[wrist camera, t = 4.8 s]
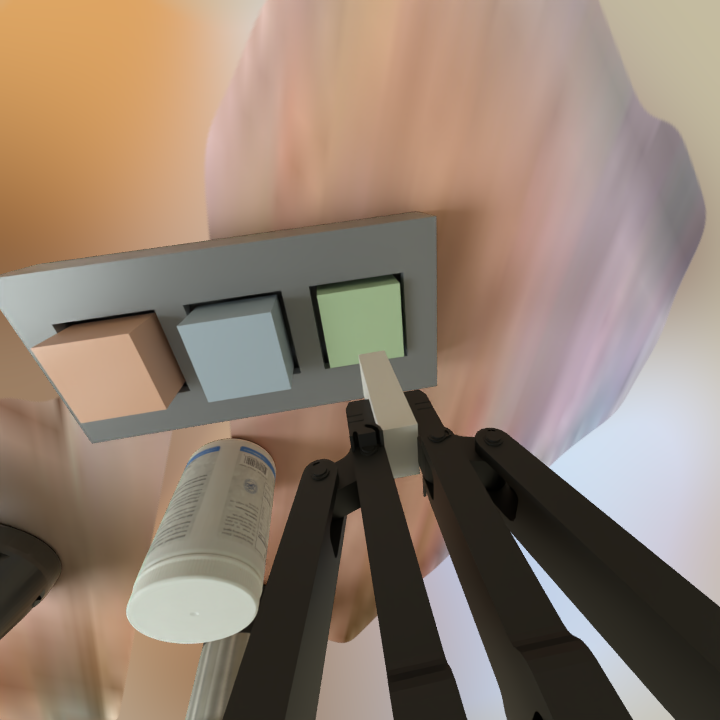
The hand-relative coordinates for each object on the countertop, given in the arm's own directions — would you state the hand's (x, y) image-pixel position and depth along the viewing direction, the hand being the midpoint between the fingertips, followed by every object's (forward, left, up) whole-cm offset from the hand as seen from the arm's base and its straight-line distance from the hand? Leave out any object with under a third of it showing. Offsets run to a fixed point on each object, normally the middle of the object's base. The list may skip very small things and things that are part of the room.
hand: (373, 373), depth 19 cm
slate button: (-9, 0, -9) cm, 12 cm away
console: (-9, 0, -13) cm, 15 cm away
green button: (0, 0, -11) cm, 11 cm away
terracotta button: (-18, 0, -9) cm, 20 cm away
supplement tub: (-16, -17, -13) cm, 26 cm away
